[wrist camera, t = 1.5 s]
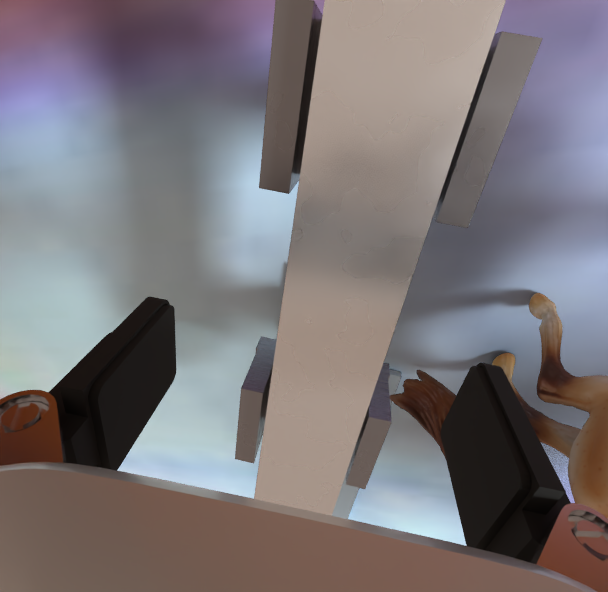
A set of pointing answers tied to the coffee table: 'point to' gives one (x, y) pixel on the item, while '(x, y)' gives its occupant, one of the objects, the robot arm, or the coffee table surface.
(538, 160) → the coffee table surface
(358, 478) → the post
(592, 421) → the horse figurine
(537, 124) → the coffee table surface
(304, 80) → the post
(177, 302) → the coffee table surface
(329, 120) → the rail
